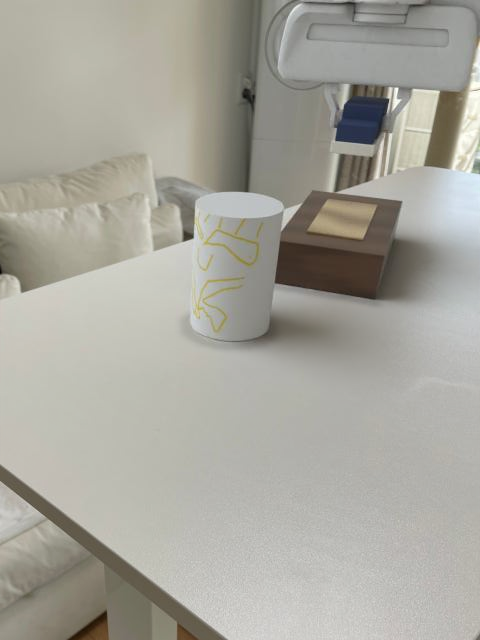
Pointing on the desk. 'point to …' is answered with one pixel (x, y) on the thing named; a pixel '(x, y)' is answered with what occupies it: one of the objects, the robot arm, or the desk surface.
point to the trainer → (360, 126)
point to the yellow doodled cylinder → (234, 264)
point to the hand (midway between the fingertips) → (360, 129)
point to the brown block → (338, 243)
